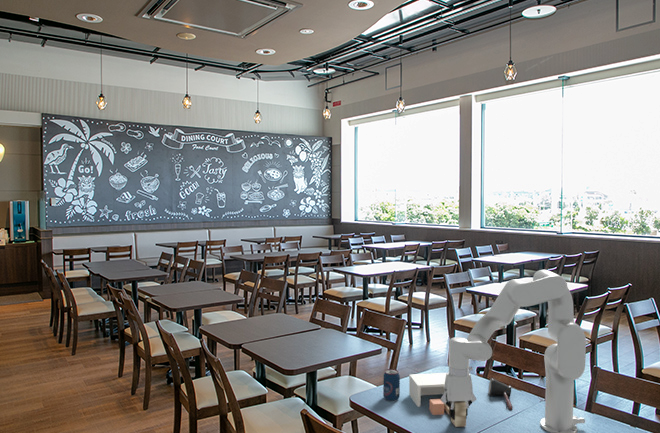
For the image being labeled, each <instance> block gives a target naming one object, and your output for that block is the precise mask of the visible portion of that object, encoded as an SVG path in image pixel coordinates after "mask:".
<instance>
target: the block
mask: <svg viewBox="0 0 660 433" xmlns="http://www.w3.org/2000/svg"><path fill="white" fill-rule="evenodd" d="M429 412H430V413H431V414H432V415H433V416H438V415H442V416H443V415H445V409H444V403H443V402H442V401H441V398H433V399H432V398H431V399H429Z"/></svg>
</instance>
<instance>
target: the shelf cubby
mask: <svg viewBox="0 0 660 433" xmlns="http://www.w3.org/2000/svg"><path fill="white" fill-rule="evenodd" d="M446 373H447V372H436V373H434V372H432V373H418V374H417V373H416V374H413V373H412V374H409V375H408V376H409V381H408V382H409V384H408V386H409V387H408V388H409V389H408V393H409V397H410V398H411V399H412V401H413V403H414V404H415V405H416V406H417V408H418V407H419V408H420V407H421V396H430V395H431V396H432V395H433V396H434V395H444V384H445V378H446Z"/></svg>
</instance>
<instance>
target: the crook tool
mask: <svg viewBox="0 0 660 433" xmlns="http://www.w3.org/2000/svg"><path fill="white" fill-rule="evenodd" d="M454 409H455V420H453V419H452V418H451V417H450V422H451V423H452V424H453V425H454V427H455V428H459V427H467V419H466V402H465V401H458V402H455V404H454ZM444 411H445V412H446V413H447V415H449V407H448V406H447V405H446V404H445V403H444Z"/></svg>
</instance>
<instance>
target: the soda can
mask: <svg viewBox="0 0 660 433" xmlns="http://www.w3.org/2000/svg"><path fill="white" fill-rule="evenodd" d="M400 378H401V376H400V374H399V371H398V369H395V368H394V369H393V368H387V369H385V370H384V373H383V384H382V385H383V391H382V392H383V393H382V394H383V395H382V396H383V398H384V400H385V401H386V402H397V401H398V400H399V398H400V393H401V392H400V386H401V385H400V384H401V382H400V381H401V380H400Z"/></svg>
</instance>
